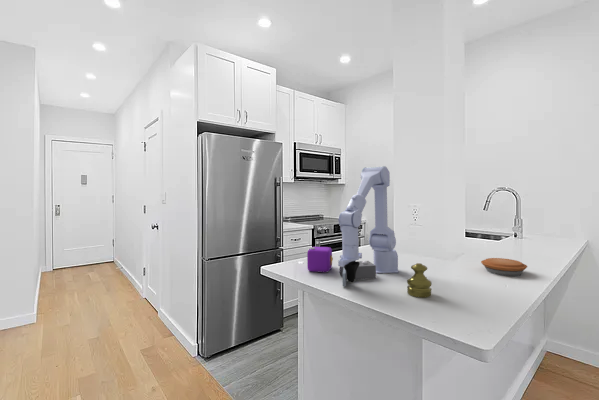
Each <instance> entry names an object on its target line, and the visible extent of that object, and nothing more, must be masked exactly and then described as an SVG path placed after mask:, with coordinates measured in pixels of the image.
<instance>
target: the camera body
mask: <svg viewBox="0 0 599 400" xmlns="http://www.w3.org/2000/svg"><path fill="white" fill-rule="evenodd" d="M355 262H359V263H360V264H359V266H358V268H357V271H356V276H355V281H356V280H371V279H372V280H375V279H376V278H377V273H376V265H374V263H372V262H371V261H369V260H363V261H362V260H356V261H355ZM338 270H339V275H340V277H342V278H343V276H342V273H343V267H341V266H339V269H338Z"/></svg>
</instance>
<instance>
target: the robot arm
mask: <svg viewBox="0 0 599 400" xmlns="http://www.w3.org/2000/svg"><path fill="white" fill-rule="evenodd" d="M390 178H391V177H390V171H389V168H388V167H387V166H386V165H383V166H373V167H371V166H370V167H363V168H362V170H361V172H360V180H361V181H360V184H359V187H358V189H357V191H356V194H353V195H352V196H351V197H350V200H349V202H348V204H347V206H346V207H345V210H343V211H341V212H340V214H339V216H338V221H337V222H338V225H339V226H340V229H339V230H340V232H341V242H342V244H341V245H342V246H341V247H342V248H341V249H342V254H341V255H340V256H339V258H340V259H339V260H338V261H337V262H338V264H337V265H338V267H340V266H341V267H344V268H345V270H346V273H347V280H346V281H347V282H348V283H353V284H354V283H355V282H356V280H355V276H356V271H357V268H358V266H359V264H360V263H359V262H355V261H360V260H359V259H362V258H363V253H362V252H359V250H360V249H359V227H360V226H361V224H362V217H363V211H364V208H365V207H366V204H367V200H366V198H367V196H368V194H369V193H370V191H371V189H373V190H374V191H373V193H374V225H375V226H374V227H373V228H372V229H371V230H370V232H369V239H368V243H369V247H371V250H373V264H374V265H376V274H390V273H399V272H400V271H399V255H398V252H397V250H396V249H395V248H396V245H397V240H396V236H395V235H396V233H395V231H394V230H393V229H391V228H390V227H389V226H388V225H389V224H388V223H389V222H388V221H389V220H388V188H389V187H390V185H391V184H390V183H391V182H390V181H391V180H390Z"/></svg>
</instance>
